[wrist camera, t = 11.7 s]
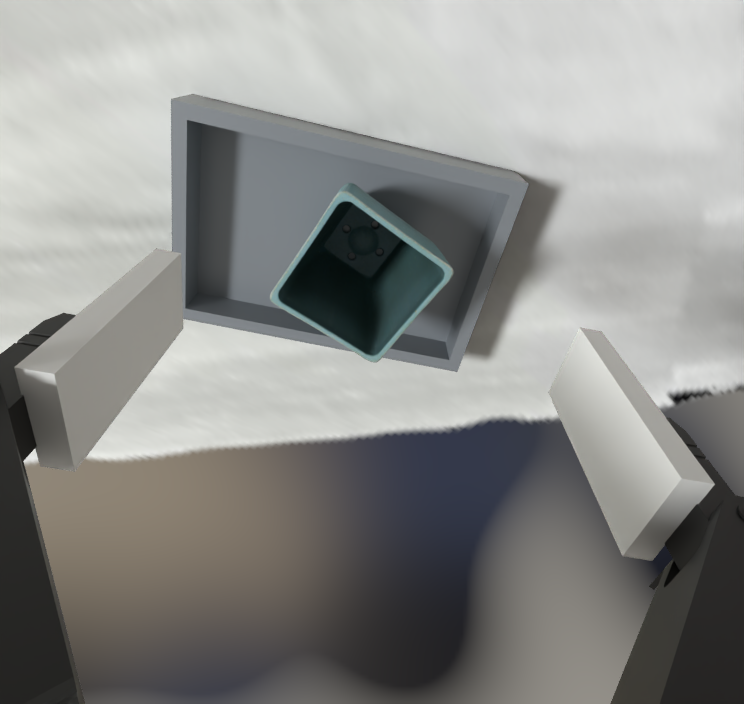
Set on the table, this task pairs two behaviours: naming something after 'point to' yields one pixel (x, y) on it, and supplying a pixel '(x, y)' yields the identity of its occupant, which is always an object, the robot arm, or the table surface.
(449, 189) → the tray
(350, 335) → the flower pot
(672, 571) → the robot arm
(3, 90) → the table surface
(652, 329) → the table surface
